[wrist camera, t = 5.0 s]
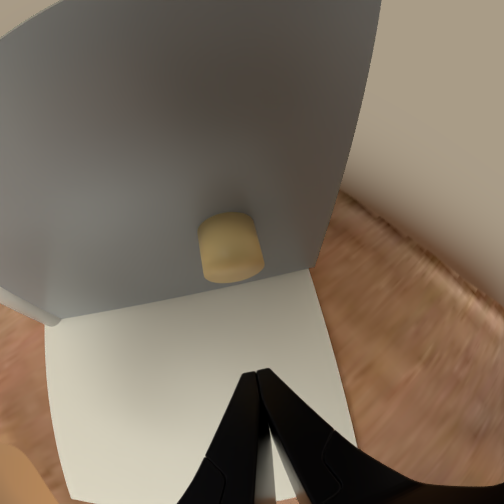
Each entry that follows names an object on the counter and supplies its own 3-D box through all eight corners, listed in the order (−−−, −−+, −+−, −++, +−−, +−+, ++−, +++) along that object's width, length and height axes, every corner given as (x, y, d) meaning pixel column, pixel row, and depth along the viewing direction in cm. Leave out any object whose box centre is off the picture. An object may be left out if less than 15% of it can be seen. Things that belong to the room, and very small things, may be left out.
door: (323, 294, 15) (441, -15, 2) (42, 346, 14) (-146, 241, 1) (305, 240, 16) (347, -47, 3) (43, 298, 15) (-118, 170, 3)
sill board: (358, 471, 11) (363, 476, 11) (79, 495, 11) (71, 498, 10) (296, 244, 18) (298, 236, 17) (54, 297, 17) (45, 293, 16)
